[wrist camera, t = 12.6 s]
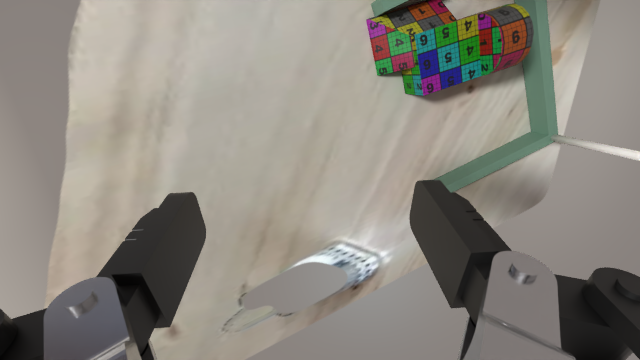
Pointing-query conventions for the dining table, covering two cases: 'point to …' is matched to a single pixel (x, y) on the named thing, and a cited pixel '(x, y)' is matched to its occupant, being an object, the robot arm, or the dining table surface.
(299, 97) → the dining table surface
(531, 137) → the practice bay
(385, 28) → the building blocks
